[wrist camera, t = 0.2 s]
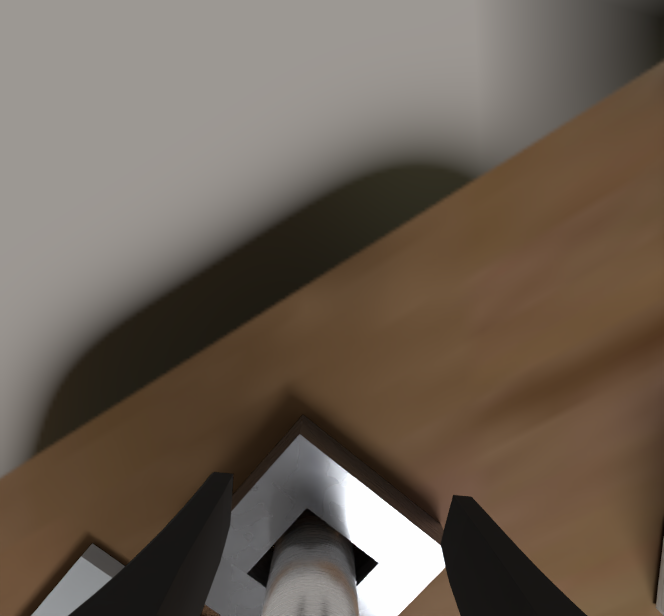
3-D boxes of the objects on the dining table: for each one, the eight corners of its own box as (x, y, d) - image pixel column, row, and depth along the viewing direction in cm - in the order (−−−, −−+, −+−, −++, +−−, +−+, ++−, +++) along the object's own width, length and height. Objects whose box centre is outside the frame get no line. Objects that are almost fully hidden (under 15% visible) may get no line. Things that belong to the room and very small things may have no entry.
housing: (325, 644, 23) (324, 689, 21) (188, 545, 22) (170, 580, 20) (440, 524, 22) (454, 556, 20) (303, 414, 21) (299, 434, 19)
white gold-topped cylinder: (319, 580, 23) (314, 750, 15) (262, 538, 22) (225, 689, 14) (367, 530, 22) (388, 676, 14) (309, 485, 22) (299, 611, 14)
